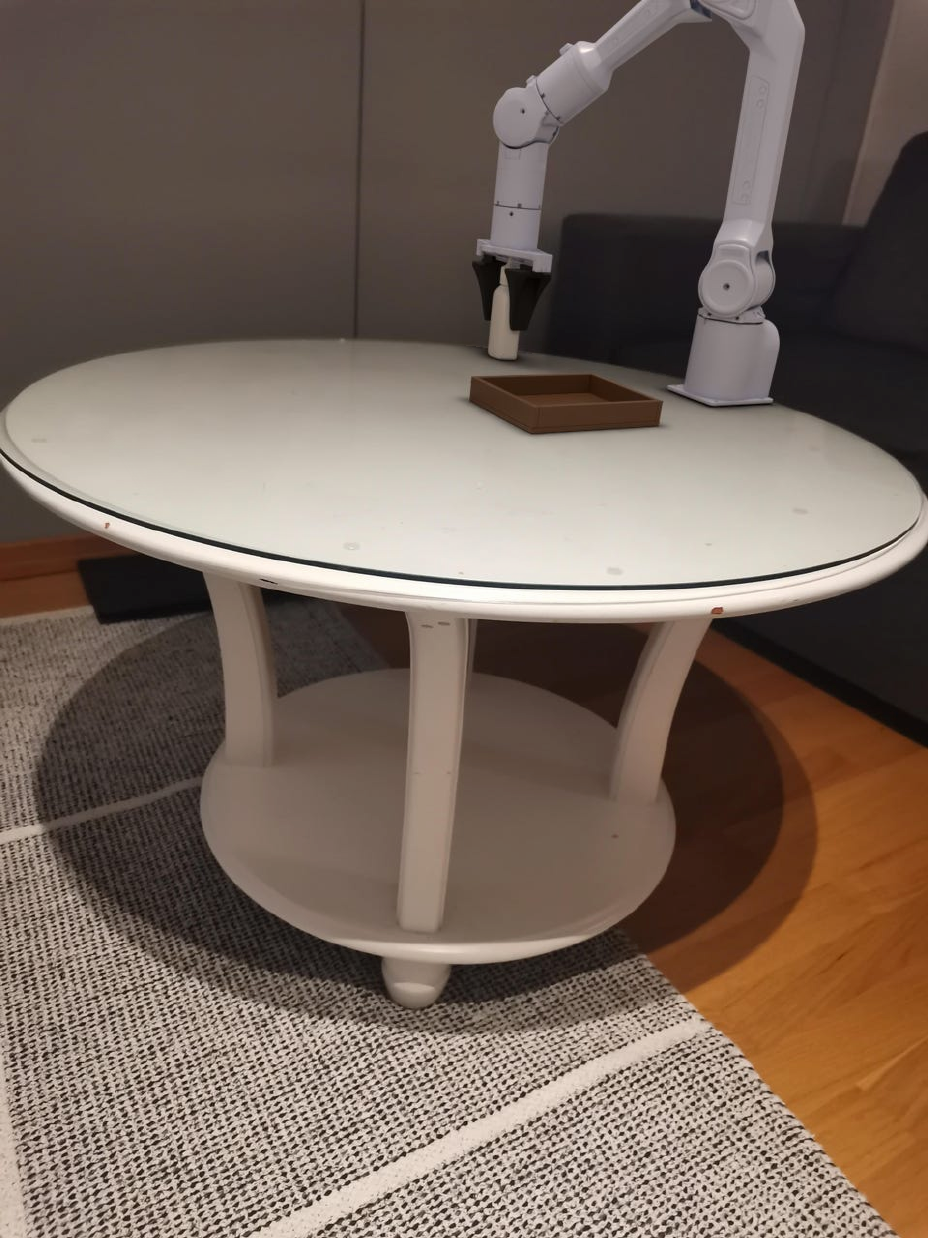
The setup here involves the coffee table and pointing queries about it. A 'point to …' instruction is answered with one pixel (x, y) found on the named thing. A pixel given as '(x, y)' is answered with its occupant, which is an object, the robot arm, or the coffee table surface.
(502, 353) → the eye dropper bottle
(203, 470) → the coffee table surface
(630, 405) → the tray
